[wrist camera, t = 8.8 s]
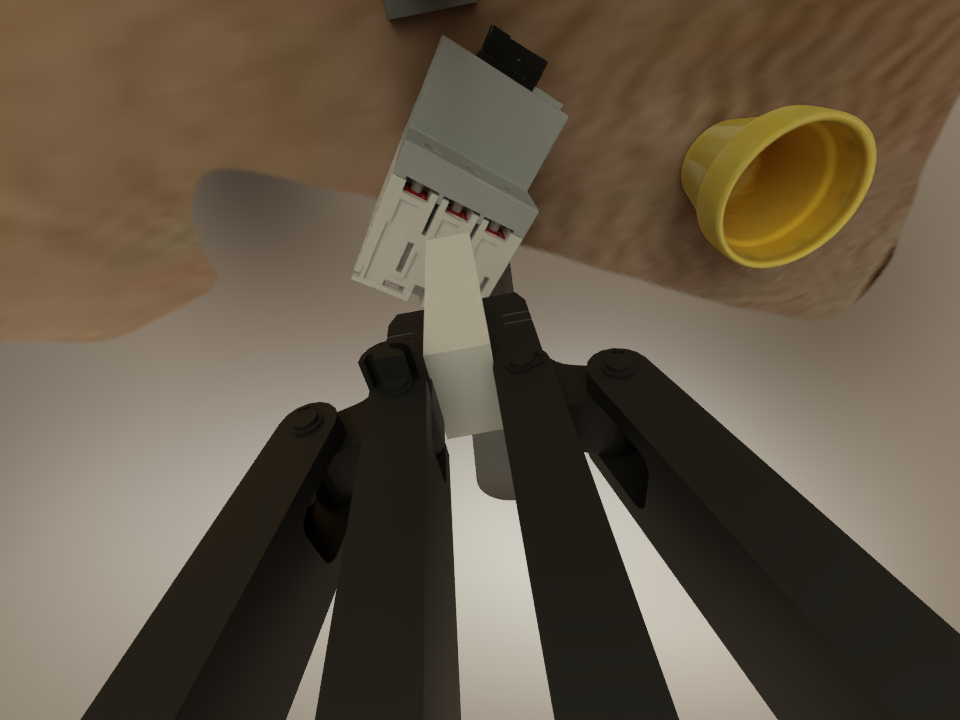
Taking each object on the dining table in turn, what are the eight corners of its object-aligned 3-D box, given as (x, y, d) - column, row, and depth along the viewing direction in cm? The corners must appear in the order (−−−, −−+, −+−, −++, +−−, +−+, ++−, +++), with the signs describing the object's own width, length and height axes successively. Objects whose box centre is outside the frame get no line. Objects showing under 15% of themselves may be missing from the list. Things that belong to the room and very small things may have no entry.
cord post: (438, 243, 39) (444, 445, 20) (504, 231, 39) (575, 421, 20) (451, 301, 43) (467, 519, 23) (512, 290, 42) (578, 500, 23)
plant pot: (750, 226, 41) (825, 271, 33) (644, 223, 40) (696, 269, 32) (805, 97, 35) (914, 115, 27) (681, 89, 33) (758, 105, 26)
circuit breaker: (543, 70, 32) (610, 91, 20) (457, 239, 39) (468, 330, 27) (451, 8, 29) (464, -12, 17) (376, 201, 36) (349, 282, 24)
